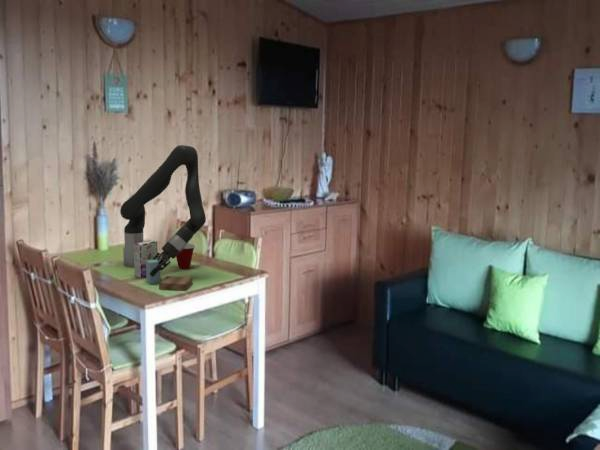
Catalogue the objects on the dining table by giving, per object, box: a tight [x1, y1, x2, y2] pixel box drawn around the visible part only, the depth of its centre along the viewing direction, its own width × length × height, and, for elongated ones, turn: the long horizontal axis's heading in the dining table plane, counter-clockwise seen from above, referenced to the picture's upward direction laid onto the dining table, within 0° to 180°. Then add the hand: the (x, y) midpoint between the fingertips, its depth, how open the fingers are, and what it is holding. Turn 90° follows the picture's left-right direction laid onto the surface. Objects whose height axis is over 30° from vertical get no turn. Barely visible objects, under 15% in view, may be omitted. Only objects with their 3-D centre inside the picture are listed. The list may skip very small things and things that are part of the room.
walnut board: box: [158, 275, 193, 292], centre depth 272 cm, size 12×12×3 cm
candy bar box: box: [133, 239, 159, 279], centre depth 288 cm, size 11×5×16 cm, turn 148°
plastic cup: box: [175, 242, 196, 270], centre depth 305 cm, size 11×11×12 cm
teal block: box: [145, 260, 161, 285], centre depth 277 cm, size 5×5×10 cm
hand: (149, 273), depth 276 cm, fingers closed on teal block, 5 cm apart
